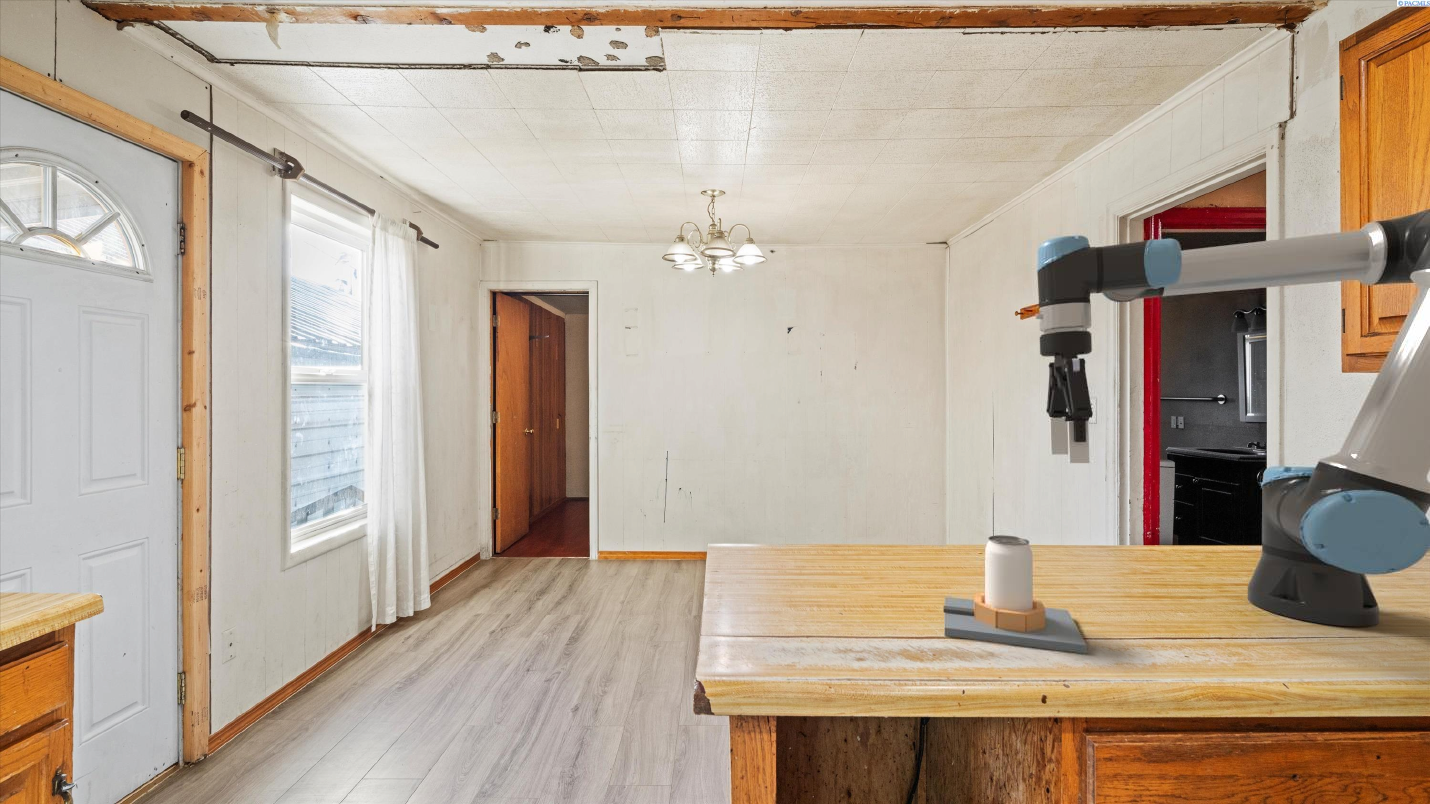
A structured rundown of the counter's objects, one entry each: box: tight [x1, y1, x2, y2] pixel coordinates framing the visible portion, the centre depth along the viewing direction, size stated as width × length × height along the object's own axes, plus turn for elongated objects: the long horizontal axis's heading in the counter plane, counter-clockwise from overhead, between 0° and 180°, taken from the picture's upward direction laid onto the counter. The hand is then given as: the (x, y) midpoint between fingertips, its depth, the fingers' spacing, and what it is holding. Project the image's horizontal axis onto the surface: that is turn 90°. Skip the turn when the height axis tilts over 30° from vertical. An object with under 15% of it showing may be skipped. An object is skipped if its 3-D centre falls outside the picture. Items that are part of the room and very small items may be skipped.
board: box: [943, 591, 1087, 655], centre depth 92 cm, size 18×14×4 cm
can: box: [984, 534, 1034, 612], centre depth 92 cm, size 6×6×12 cm
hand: (1068, 458), depth 102 cm, fingers open, 13 cm apart
